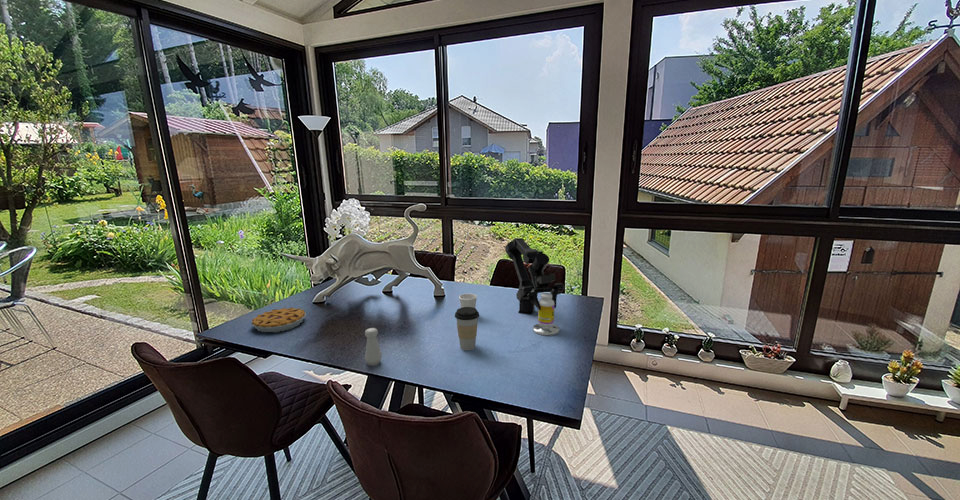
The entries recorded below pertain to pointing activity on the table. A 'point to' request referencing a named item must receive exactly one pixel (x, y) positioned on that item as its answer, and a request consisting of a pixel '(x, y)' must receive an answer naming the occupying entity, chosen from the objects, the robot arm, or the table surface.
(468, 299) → the dixie cup
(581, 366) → the table surface
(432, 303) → the table surface
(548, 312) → the supplement bottle
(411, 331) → the table surface
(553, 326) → the rosette plate
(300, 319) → the pie
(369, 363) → the salt shaker
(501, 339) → the table surface
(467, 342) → the coffee cup
